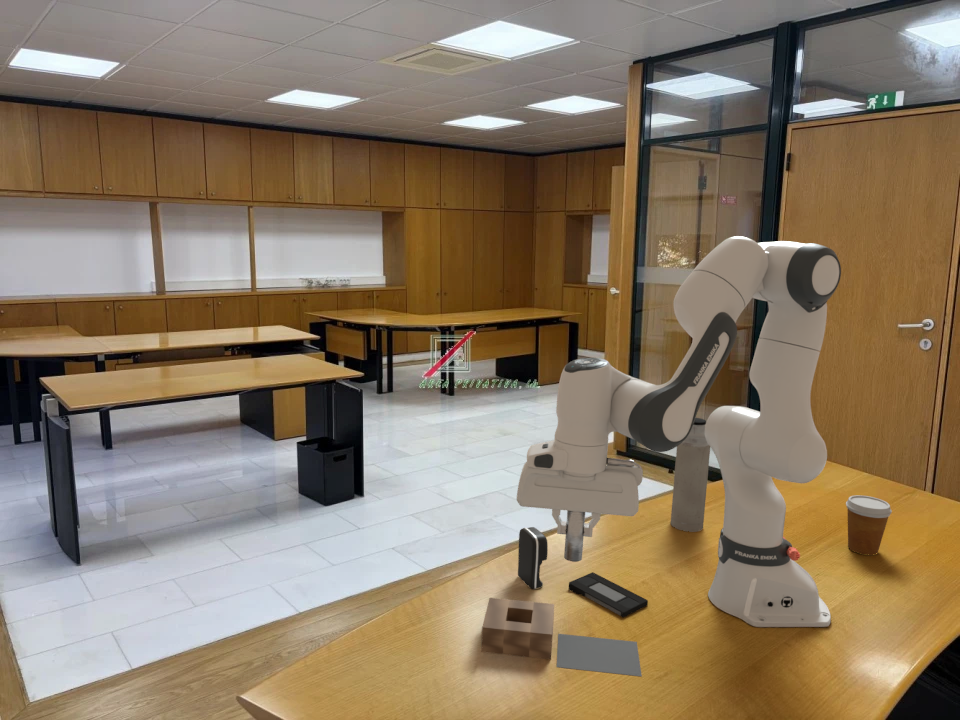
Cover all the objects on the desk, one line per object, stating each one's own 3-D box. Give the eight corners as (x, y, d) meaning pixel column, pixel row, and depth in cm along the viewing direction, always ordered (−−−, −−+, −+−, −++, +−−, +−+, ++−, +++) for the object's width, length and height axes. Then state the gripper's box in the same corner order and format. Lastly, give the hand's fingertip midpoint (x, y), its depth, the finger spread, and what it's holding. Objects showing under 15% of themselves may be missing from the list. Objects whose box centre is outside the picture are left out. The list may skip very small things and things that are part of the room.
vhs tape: (622, 622, 131) (623, 612, 131) (567, 591, 142) (568, 582, 142) (647, 609, 136) (647, 600, 136) (592, 580, 147) (592, 572, 147)
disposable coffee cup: (842, 553, 162) (848, 505, 160) (838, 538, 171) (844, 492, 169) (888, 561, 159) (895, 512, 156) (882, 545, 167) (888, 498, 165)
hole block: (553, 629, 127) (554, 604, 127) (550, 661, 118) (552, 634, 117) (488, 622, 129) (489, 597, 128) (481, 653, 119) (482, 627, 118)
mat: (636, 643, 124) (636, 641, 123) (641, 678, 114) (641, 676, 114) (558, 635, 125) (558, 633, 125) (556, 669, 116) (556, 666, 116)
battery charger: (548, 588, 142) (550, 536, 140) (531, 591, 141) (534, 539, 139) (532, 572, 149) (534, 523, 147) (516, 575, 147) (518, 525, 145)
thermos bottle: (675, 516, 181) (684, 413, 176) (706, 523, 177) (716, 418, 172) (666, 526, 175) (675, 419, 170) (698, 534, 170) (707, 425, 166)
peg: (581, 554, 119) (585, 499, 117) (582, 562, 116) (586, 506, 114) (564, 552, 119) (568, 497, 117) (564, 560, 116) (567, 504, 114)
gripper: (641, 455, 116) (635, 532, 119) (520, 445, 119) (516, 521, 121) (645, 466, 110) (638, 548, 112) (518, 456, 112) (513, 536, 115)
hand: (574, 534), depth 117 cm, fingers closed on peg, 3 cm apart
